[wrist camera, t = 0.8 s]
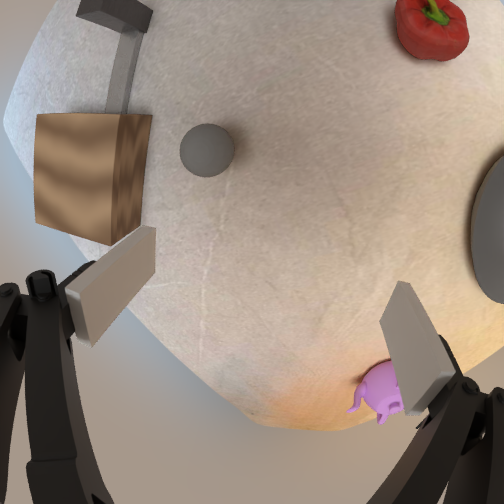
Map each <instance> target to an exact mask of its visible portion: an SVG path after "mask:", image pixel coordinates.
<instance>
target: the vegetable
mask: <svg viewBox="0 0 504 504" xmlns="http://www.w3.org/2000/svg"><path fill="white" fill-rule="evenodd" d="M395 17H396V20H397V34H398V38H399V40H400V42H401V43H402V45H403V46H404V47H405V49H406V50H407V51H408V52H409V53H410V54H412V55H413V56H415V57H417V58H419V59H436V60H439V61H448V60H451V59H454V58H456V57H457V56H458V55H460V54H461V53H462V52H463V51H464V50H465V48H466V47H467V45H468V42H469V32H468V28H467V23H466V17H465V15H464V13H463V11H462V10H461V9H460V8H459V7H458V6H456V5H455V4H453V3H452V2H450V1H449V0H397V2H396V6H395Z"/></svg>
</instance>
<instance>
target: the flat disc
mask: <svg viewBox="0 0 504 504" xmlns="http://www.w3.org/2000/svg"><path fill="white" fill-rule="evenodd" d="M471 252H472V258H473V264H474V270H475V275H476V278H477V281H478V283H479V285H480V287H481V289H482V291H483V292H484V293H485V294H486V295H487V296H488V297H489V298H490V299H491V300H493V301H495V302H497V303H501V304H504V155H503V156H502V157H501V158H500V159H499V160H498V161H496V162H495V163H494V165H493V166H492V168H491V169H490V170H489V172H488V173H487V175H486V176H485V178H484V181H483V184H482V185H481V186H480V189H479V191H478V193H477V194H476V198H475V204H474V206H473V211H472V217H471Z"/></svg>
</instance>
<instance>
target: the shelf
mask: <svg viewBox="0 0 504 504" xmlns="http://www.w3.org/2000/svg"><path fill="white" fill-rule="evenodd" d="M151 121H152V115H141V114H103V113H50V114H37V119H36V129H35V144H34V205H35V220H36V223H38V224H41V225H44V226H47V227H50V228H53V229H57V230H60V231H63V232H66V233H69V234H72V235H75V236H78V237H82V238H85V239H88V240H91V241H95V242H98V243H101V244H105V245H108V246H112V245H114V244H115V243H116V242H118V241H119V240H121V239H122V238H123V237H125V236H126V235H127V234H129V233H130V232H132V231H133V230H135V229H136V228H137V227H139V226H140V222H141V206H142V194H143V183H144V173H145V164H146V156H147V148H148V140H149V134H150V127H151Z"/></svg>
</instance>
